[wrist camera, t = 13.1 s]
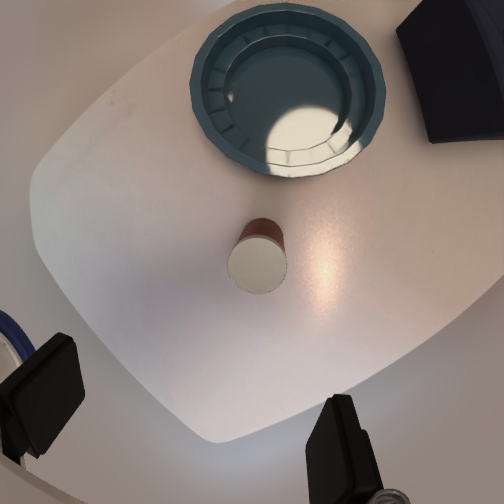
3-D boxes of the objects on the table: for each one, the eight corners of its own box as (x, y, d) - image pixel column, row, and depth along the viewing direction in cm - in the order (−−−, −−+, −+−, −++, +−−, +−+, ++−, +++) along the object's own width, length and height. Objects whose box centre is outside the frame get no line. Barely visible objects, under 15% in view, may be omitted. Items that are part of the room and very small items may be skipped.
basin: (194, 162, 28) (174, 161, 22) (222, 24, 24) (211, -4, 18) (351, 191, 27) (370, 196, 22) (371, 51, 23) (390, 28, 17)
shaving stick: (238, 254, 30) (223, 288, 21) (245, 214, 29) (232, 232, 20) (279, 262, 30) (280, 299, 21) (287, 221, 29) (292, 243, 20)
